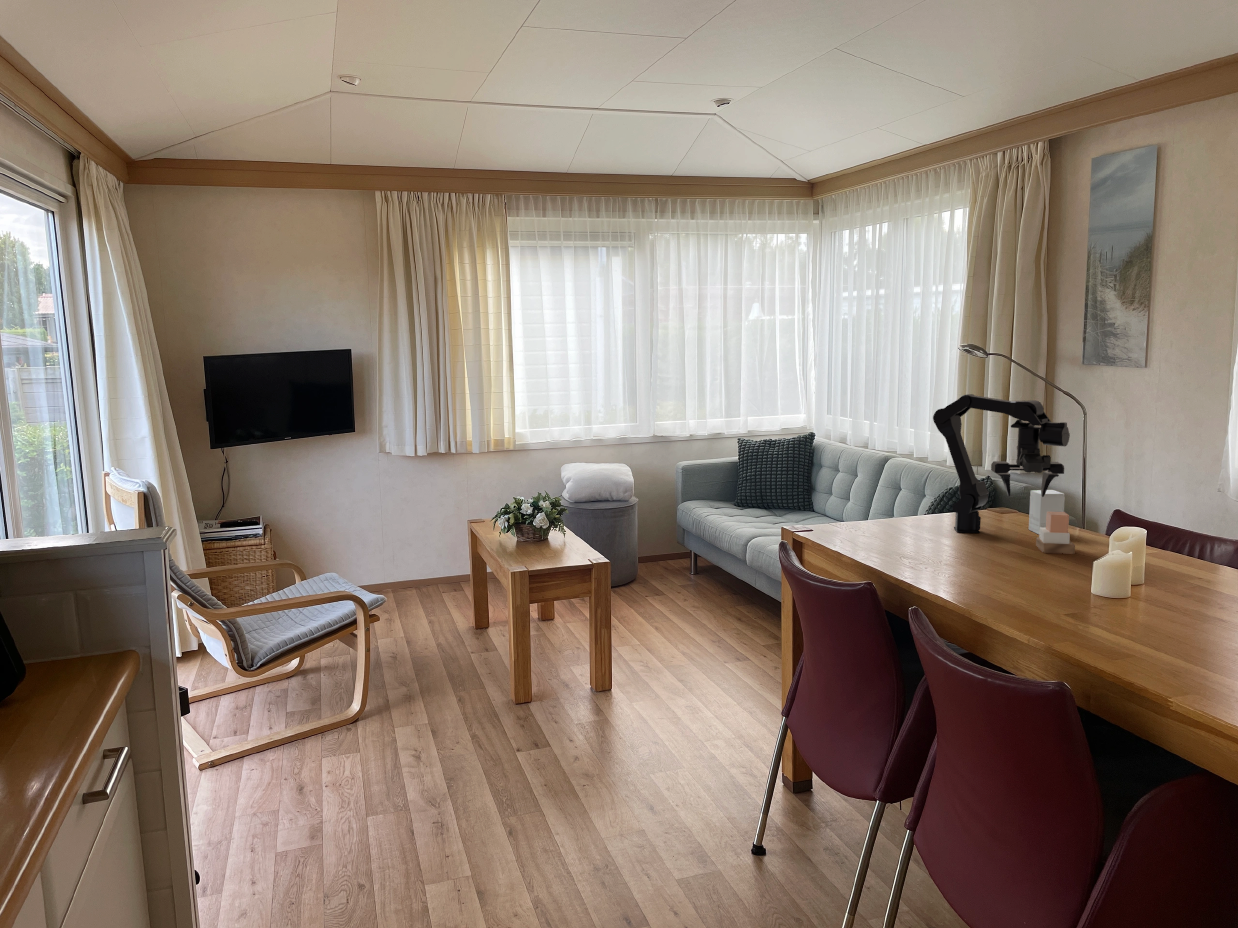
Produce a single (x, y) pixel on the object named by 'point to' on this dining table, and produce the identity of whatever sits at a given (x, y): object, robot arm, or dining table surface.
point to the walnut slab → (1055, 547)
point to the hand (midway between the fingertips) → (1025, 496)
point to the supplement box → (1043, 507)
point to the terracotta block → (1057, 522)
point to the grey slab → (1053, 537)
